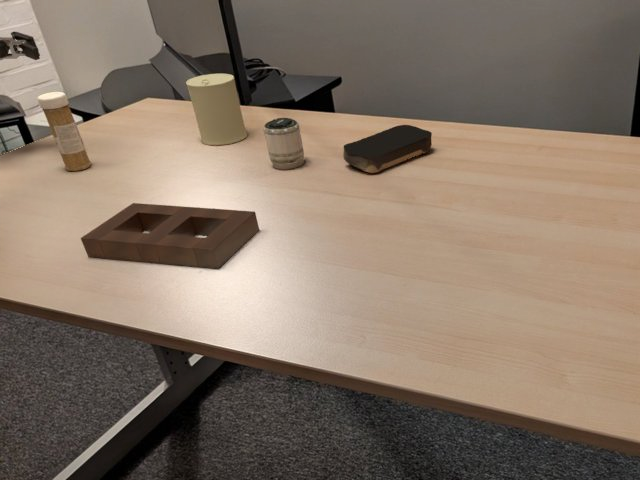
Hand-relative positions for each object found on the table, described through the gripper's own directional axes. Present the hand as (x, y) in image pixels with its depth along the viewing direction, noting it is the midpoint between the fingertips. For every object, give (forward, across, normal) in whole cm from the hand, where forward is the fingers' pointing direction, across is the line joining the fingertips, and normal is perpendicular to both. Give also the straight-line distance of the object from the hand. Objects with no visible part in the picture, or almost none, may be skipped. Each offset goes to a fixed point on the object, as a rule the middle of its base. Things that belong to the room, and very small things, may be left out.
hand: (13, 61), depth 117 cm
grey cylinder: (+46, +20, +15) cm, 52 cm away
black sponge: (+60, +31, +14) cm, 69 cm away
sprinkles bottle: (+11, -1, +17) cm, 20 cm away
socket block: (+54, -11, +11) cm, 56 cm away
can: (+23, +24, +18) cm, 37 cm away
